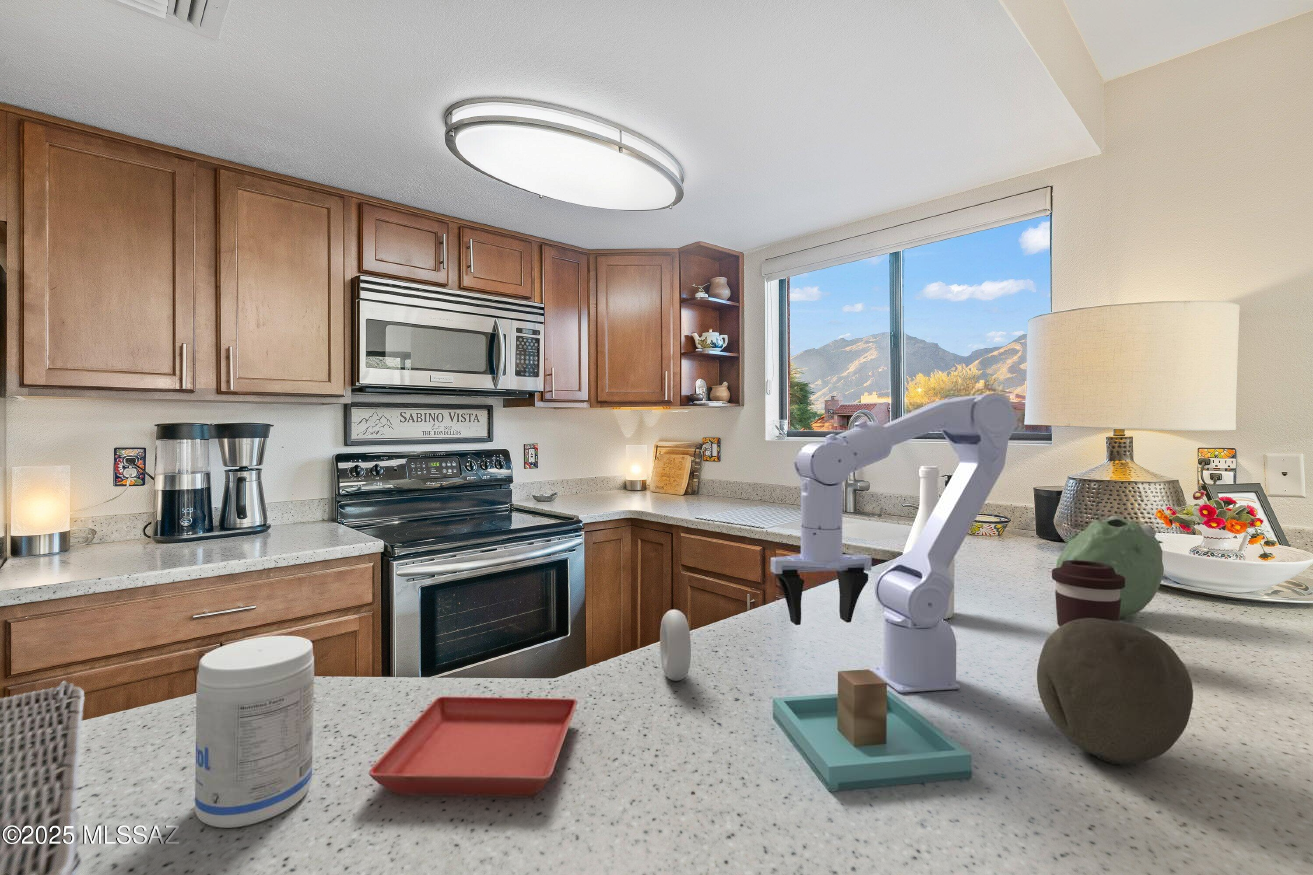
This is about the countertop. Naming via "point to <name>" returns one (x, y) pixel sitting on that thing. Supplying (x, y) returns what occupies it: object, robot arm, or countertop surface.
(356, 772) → the countertop surface
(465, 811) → the countertop surface
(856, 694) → the block
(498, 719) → the plant saucer
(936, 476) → the wine bottle
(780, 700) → the tray
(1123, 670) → the grey river stone
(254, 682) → the supplement tub
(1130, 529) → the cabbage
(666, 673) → the donut
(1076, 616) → the coffee cup
